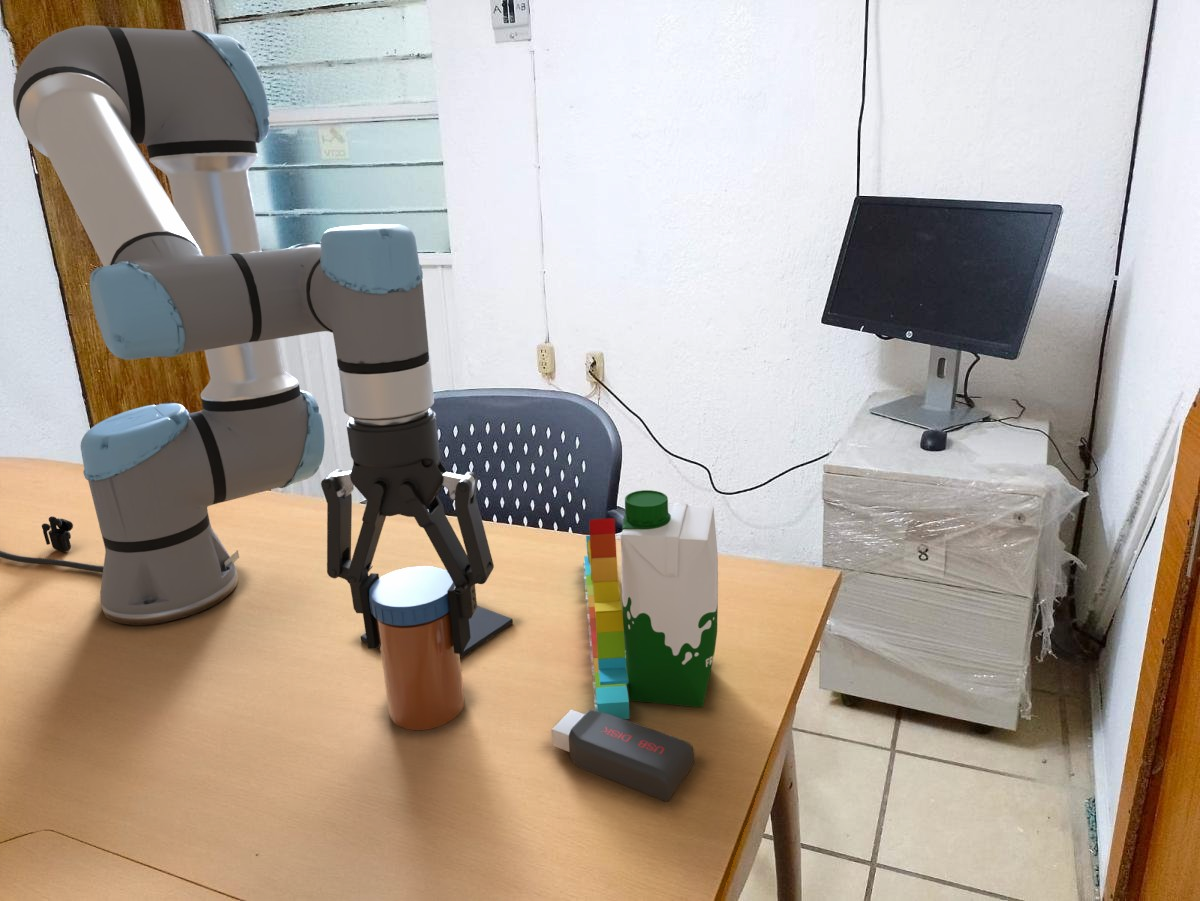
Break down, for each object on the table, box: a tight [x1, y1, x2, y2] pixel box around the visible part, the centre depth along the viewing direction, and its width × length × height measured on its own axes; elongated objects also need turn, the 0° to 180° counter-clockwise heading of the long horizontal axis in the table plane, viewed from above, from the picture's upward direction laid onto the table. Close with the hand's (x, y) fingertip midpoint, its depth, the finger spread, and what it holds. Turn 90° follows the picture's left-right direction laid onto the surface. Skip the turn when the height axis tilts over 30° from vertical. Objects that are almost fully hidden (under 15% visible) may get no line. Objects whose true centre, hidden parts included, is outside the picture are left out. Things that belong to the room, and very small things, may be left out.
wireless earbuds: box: [41, 516, 74, 553], centre depth 117 cm, size 7×2×5 cm, turn 59°
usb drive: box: [551, 709, 695, 802], centre depth 72 cm, size 5×12×3 cm, turn 59°
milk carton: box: [619, 489, 719, 708], centre depth 79 cm, size 9×9×20 cm
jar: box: [376, 611, 465, 731], centre depth 79 cm, size 7×7×13 cm
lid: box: [369, 565, 453, 626], centre depth 77 cm, size 8×8×2 cm
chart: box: [583, 517, 630, 720], centre depth 89 cm, size 30×3×15 cm, turn 3°
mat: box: [360, 605, 514, 660], centre depth 93 cm, size 12×12×1 cm
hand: (419, 642), depth 78 cm, fingers closed on lid, 8 cm apart
